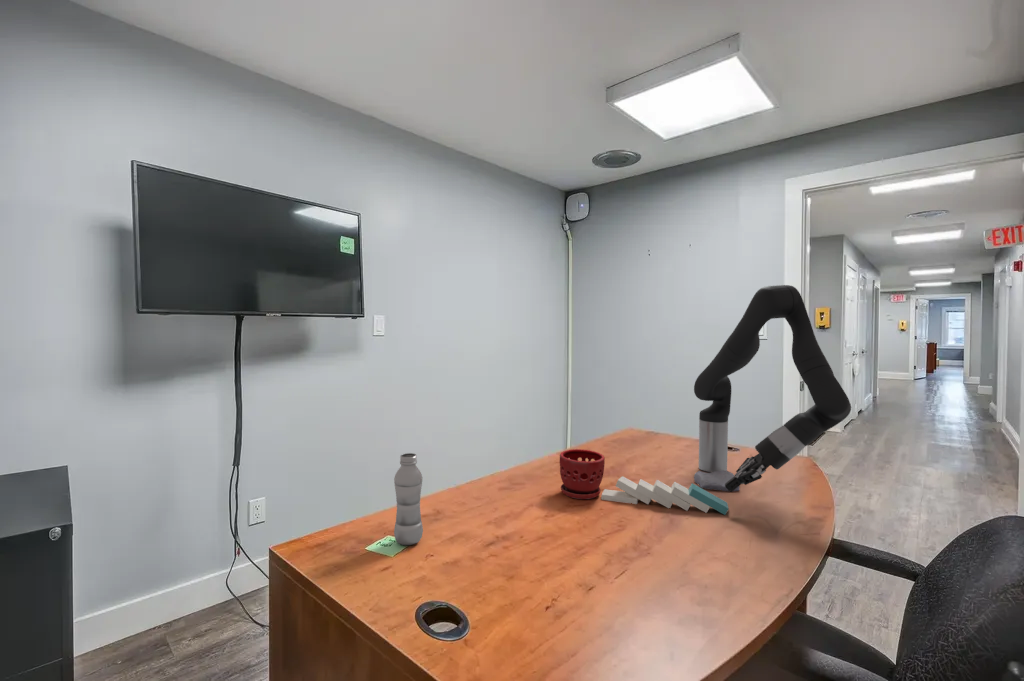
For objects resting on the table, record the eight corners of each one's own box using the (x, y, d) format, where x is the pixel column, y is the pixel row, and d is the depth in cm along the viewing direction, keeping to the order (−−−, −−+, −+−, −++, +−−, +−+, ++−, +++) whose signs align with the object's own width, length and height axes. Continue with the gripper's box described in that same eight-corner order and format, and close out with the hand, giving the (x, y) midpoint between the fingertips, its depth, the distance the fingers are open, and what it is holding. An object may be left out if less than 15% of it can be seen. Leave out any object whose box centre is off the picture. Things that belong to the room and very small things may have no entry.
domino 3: (669, 508, 132) (635, 490, 136) (670, 502, 137) (637, 484, 140) (672, 502, 132) (638, 483, 135) (673, 496, 137) (640, 478, 140)
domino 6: (725, 515, 128) (688, 494, 131) (723, 508, 133) (688, 489, 135) (728, 508, 128) (692, 488, 130) (726, 502, 132) (691, 482, 135)
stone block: (742, 498, 147) (730, 481, 156) (743, 483, 146) (731, 467, 155) (702, 498, 147) (692, 481, 157) (702, 483, 146) (693, 467, 156)
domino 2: (648, 504, 135) (615, 486, 139) (651, 499, 139) (619, 481, 143) (650, 498, 134) (618, 480, 139) (654, 493, 139) (622, 476, 143)
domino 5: (706, 513, 129) (671, 493, 132) (705, 506, 134) (671, 487, 137) (710, 506, 129) (674, 487, 132) (708, 500, 134) (674, 481, 136)
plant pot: (553, 498, 139) (554, 457, 139) (566, 485, 152) (566, 447, 151) (598, 505, 134) (599, 462, 134) (608, 490, 147) (608, 451, 146)
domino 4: (687, 510, 131) (652, 491, 134) (687, 504, 135) (653, 485, 138) (690, 504, 130) (656, 485, 133) (690, 498, 135) (656, 479, 138)
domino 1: (637, 506, 136) (601, 501, 139) (639, 500, 140) (604, 495, 144) (637, 499, 136) (601, 494, 139) (639, 493, 140) (604, 489, 144)
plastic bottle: (398, 551, 106) (398, 460, 106) (390, 539, 112) (390, 453, 112) (426, 545, 109) (426, 457, 109) (418, 533, 115) (418, 450, 115)
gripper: (764, 430, 133) (715, 470, 137) (773, 441, 120) (718, 485, 124) (786, 451, 131) (735, 491, 135) (797, 465, 118) (740, 508, 123)
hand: (727, 488), depth 130 cm, fingers closed
